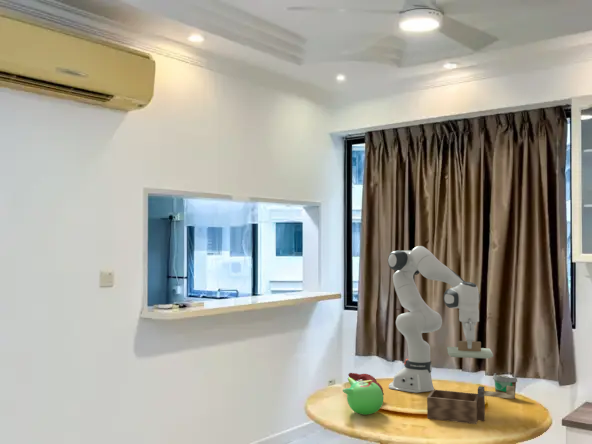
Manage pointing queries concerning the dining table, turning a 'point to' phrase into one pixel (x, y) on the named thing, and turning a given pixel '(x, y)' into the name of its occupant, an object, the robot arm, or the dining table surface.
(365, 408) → the toy bird
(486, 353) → the toolbox lid
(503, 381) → the food container
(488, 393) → the wooden key
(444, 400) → the toolbox
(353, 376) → the red toy dinosaur
